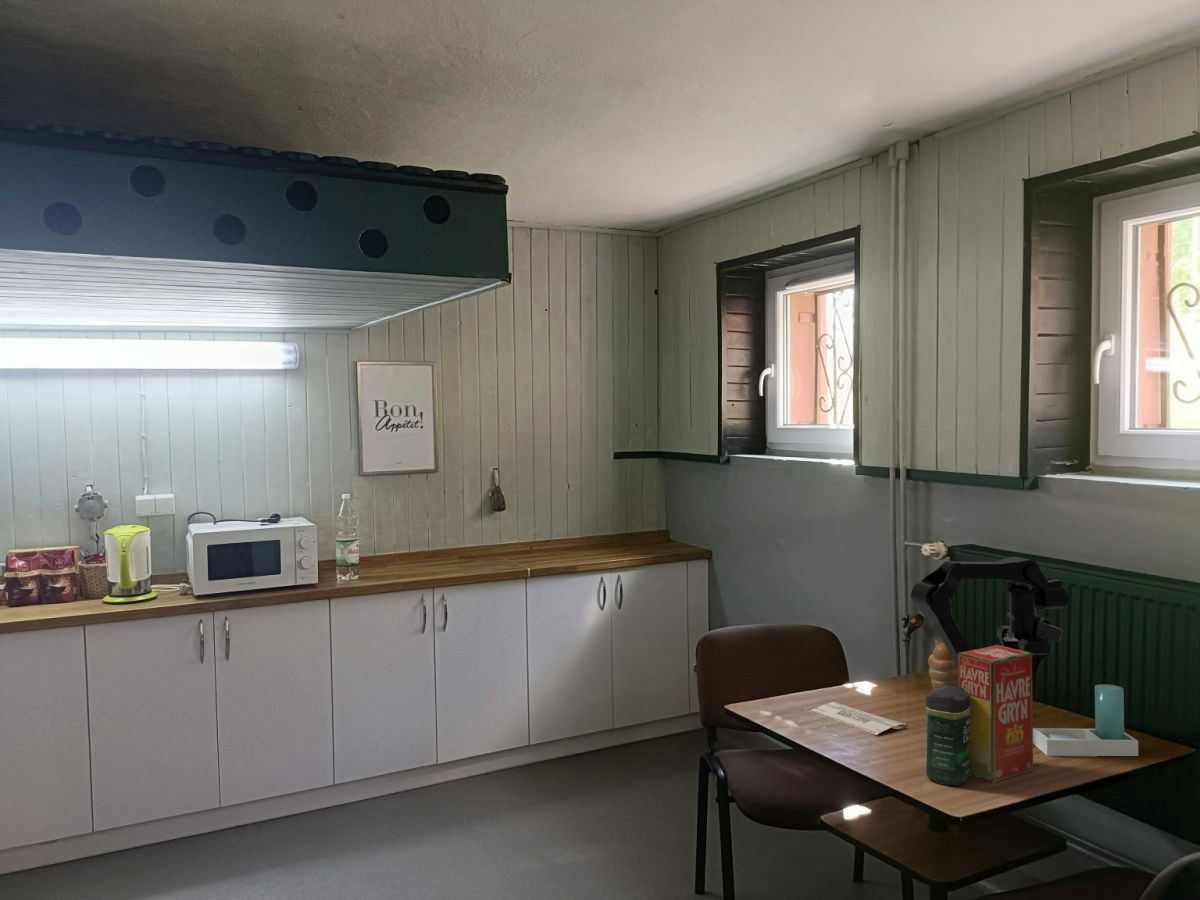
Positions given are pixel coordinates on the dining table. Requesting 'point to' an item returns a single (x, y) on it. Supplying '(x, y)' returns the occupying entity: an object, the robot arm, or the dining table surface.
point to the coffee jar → (948, 735)
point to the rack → (1081, 743)
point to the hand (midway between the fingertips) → (1024, 675)
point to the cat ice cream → (942, 667)
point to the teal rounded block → (1109, 712)
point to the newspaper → (857, 718)
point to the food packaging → (999, 710)
